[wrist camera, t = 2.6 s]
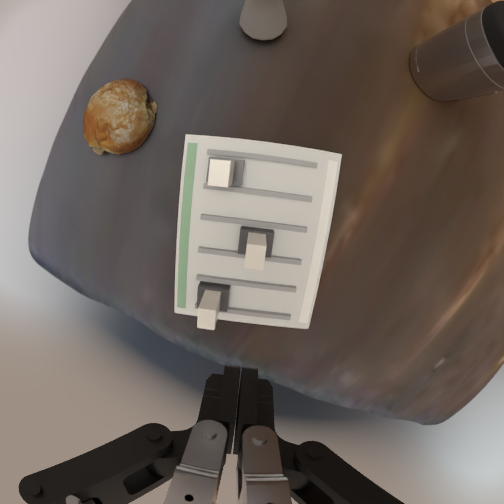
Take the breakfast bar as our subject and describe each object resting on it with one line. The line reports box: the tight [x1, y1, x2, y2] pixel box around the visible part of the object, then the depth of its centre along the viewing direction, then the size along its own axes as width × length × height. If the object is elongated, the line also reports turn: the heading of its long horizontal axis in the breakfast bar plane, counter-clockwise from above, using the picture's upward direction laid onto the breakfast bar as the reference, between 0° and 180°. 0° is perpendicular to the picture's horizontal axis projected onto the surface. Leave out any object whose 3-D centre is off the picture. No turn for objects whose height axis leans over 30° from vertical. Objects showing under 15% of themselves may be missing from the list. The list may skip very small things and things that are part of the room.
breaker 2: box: [197, 281, 231, 330], centre depth 36 cm, size 4×3×7 cm
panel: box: [175, 134, 342, 329], centre depth 38 cm, size 19×24×2 cm
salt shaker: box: [239, 0, 287, 40], centre depth 24 cm, size 6×6×13 cm
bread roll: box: [83, 79, 157, 155], centre depth 33 cm, size 10×10×8 cm
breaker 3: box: [237, 226, 274, 270], centre depth 34 cm, size 4×3×7 cm
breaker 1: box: [206, 157, 245, 187], centre depth 32 cm, size 4×3×7 cm
